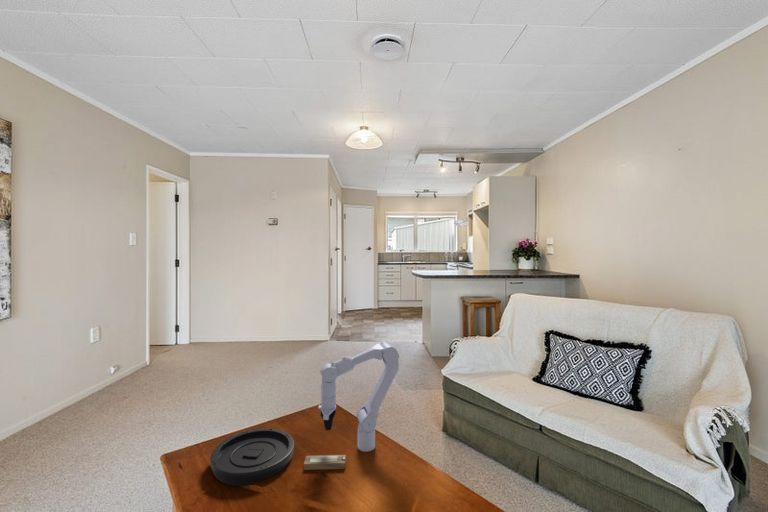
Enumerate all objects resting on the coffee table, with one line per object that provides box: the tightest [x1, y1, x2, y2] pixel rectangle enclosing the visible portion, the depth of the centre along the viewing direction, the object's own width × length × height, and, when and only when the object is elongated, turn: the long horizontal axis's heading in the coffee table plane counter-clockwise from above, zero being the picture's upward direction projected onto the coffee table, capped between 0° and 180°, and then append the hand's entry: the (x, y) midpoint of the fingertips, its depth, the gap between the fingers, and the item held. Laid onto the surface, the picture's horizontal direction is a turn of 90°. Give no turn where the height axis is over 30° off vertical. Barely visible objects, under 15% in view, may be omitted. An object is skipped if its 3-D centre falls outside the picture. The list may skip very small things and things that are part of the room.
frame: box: [303, 454, 347, 471], centre depth 128 cm, size 5×15×3 cm, turn 93°
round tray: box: [209, 428, 295, 487], centre depth 131 cm, size 30×6×30 cm
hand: (328, 429), depth 136 cm, fingers closed
